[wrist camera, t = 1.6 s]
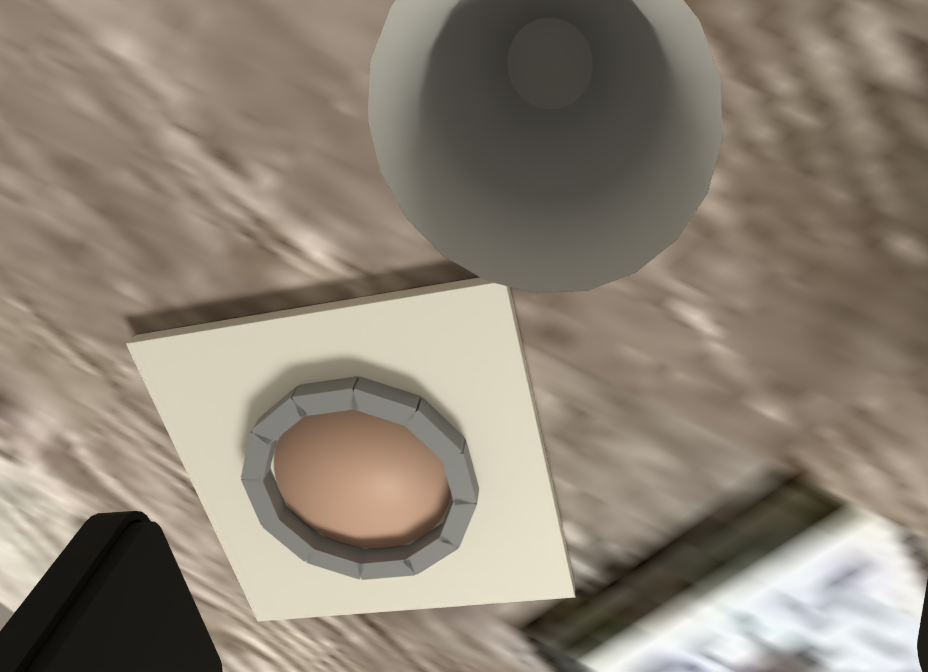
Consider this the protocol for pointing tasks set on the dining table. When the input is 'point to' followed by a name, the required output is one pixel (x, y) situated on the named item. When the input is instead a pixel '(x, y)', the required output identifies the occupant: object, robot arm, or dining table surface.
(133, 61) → the dining table surface
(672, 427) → the dining table surface
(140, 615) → the robot arm
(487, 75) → the chalice
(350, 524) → the seat board
